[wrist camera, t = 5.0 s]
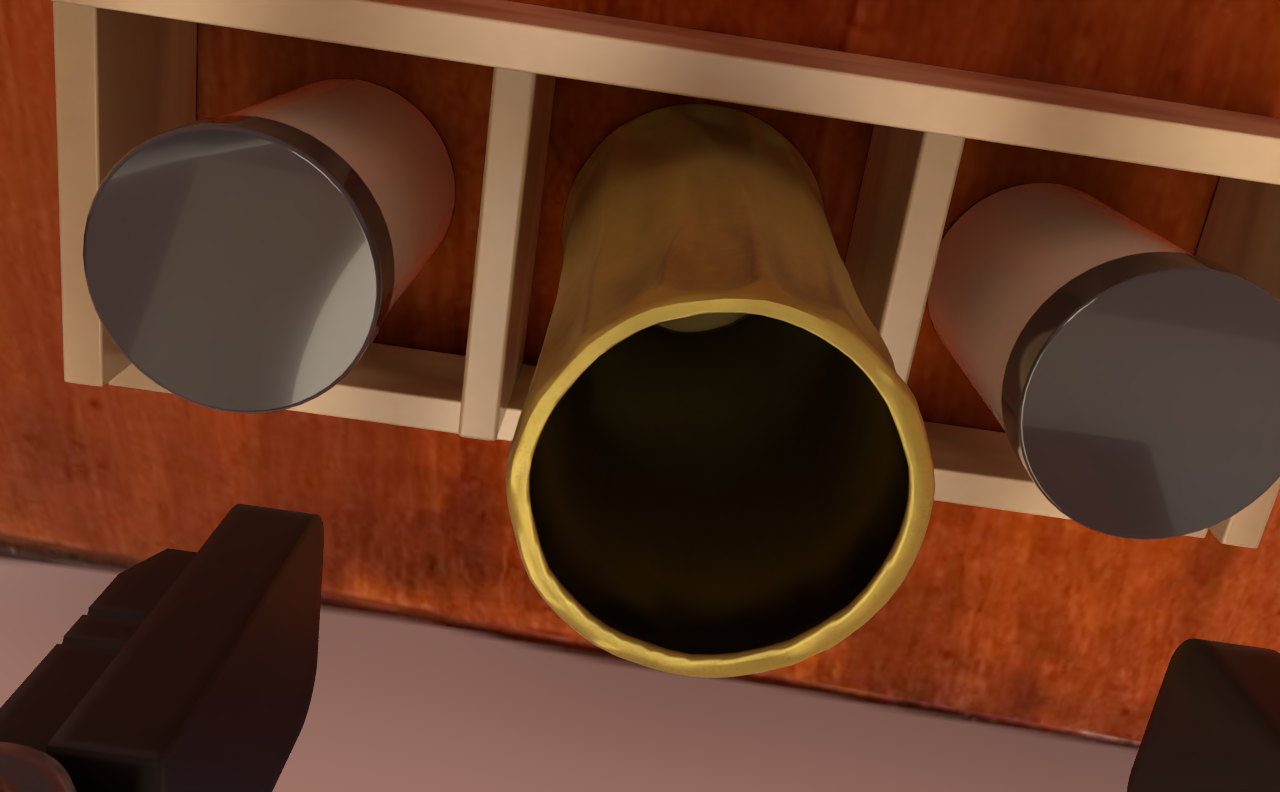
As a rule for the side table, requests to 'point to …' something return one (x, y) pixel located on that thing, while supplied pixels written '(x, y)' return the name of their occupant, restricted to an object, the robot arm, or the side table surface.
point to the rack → (670, 63)
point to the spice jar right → (1113, 360)
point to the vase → (712, 411)
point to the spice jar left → (267, 242)
